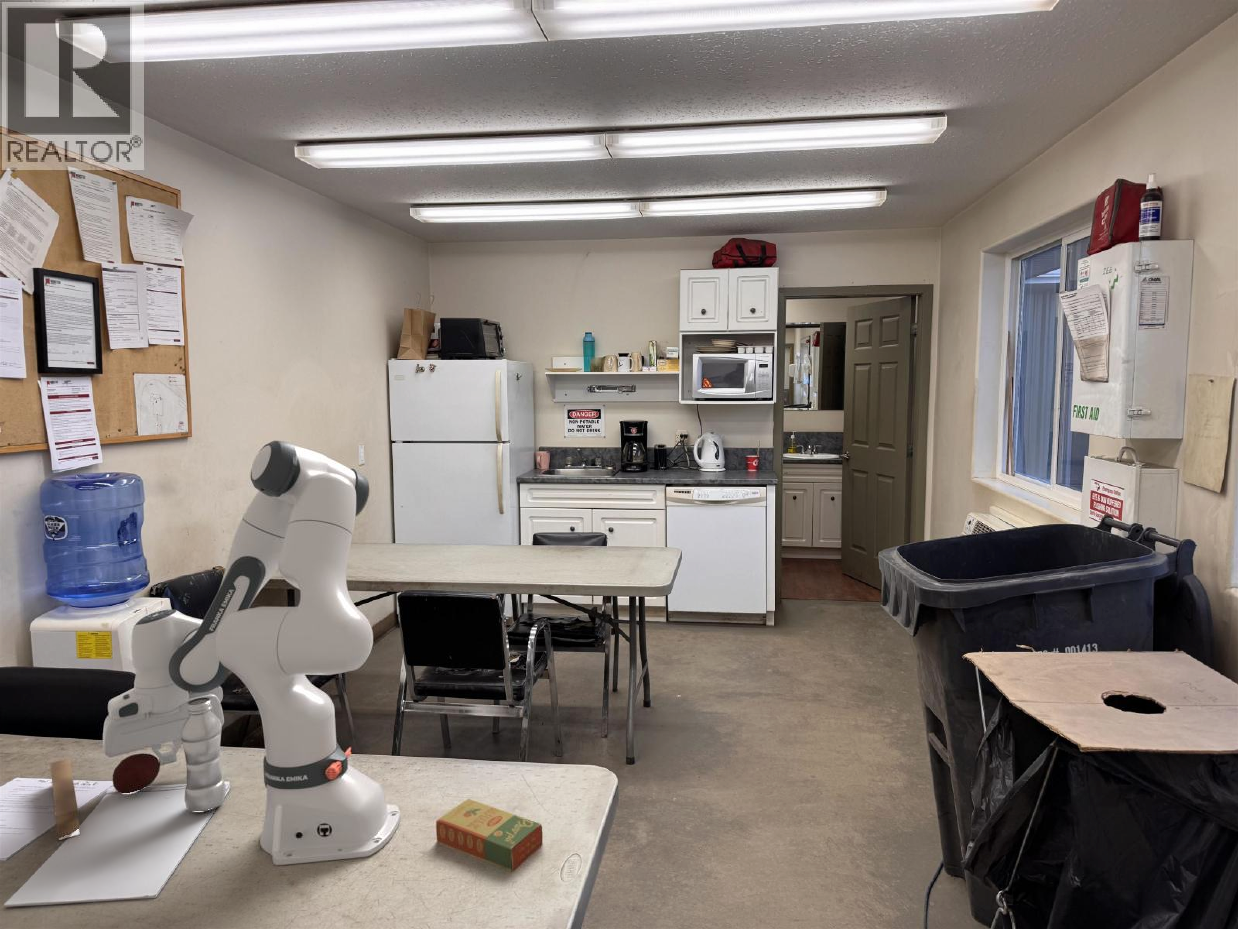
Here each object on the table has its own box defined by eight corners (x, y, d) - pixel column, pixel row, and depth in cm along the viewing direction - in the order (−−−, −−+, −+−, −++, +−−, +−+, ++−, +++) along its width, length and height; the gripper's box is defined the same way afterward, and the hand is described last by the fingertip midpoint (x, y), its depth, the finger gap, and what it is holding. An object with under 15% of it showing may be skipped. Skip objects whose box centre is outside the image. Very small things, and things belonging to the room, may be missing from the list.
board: (71, 780, 148) (69, 758, 148) (80, 834, 129) (77, 809, 129) (52, 785, 146) (50, 763, 146) (58, 841, 127) (56, 816, 127)
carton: (469, 820, 132) (469, 796, 132) (544, 846, 124) (543, 822, 124) (435, 844, 125) (435, 819, 125) (512, 874, 117) (511, 848, 117)
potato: (170, 777, 148) (168, 743, 148) (142, 801, 140) (139, 764, 139) (134, 778, 149) (131, 743, 148) (103, 801, 140) (100, 765, 139)
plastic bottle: (176, 814, 135) (168, 706, 133) (208, 795, 141) (200, 692, 140) (204, 820, 133) (196, 711, 131) (235, 800, 139) (228, 696, 138)
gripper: (218, 676, 155) (223, 741, 157) (98, 703, 143) (104, 773, 144) (225, 685, 151) (230, 752, 152) (101, 714, 138) (107, 786, 139)
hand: (168, 762), depth 148 cm, fingers closed
